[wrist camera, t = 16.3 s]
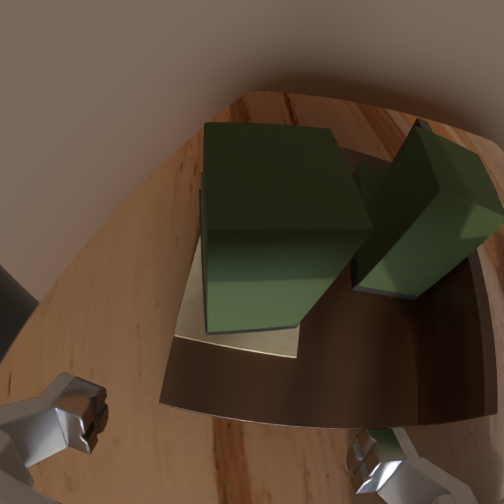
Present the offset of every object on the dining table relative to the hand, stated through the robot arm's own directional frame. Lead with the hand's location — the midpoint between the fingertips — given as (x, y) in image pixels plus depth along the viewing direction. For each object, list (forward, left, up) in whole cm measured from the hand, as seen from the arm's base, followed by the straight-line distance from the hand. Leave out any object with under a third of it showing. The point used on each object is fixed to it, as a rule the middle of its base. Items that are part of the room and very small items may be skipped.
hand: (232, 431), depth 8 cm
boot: (-1, +10, -7) cm, 12 cm away
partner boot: (+9, +14, -7) cm, 19 cm away
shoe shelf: (+5, +12, -12) cm, 18 cm away
